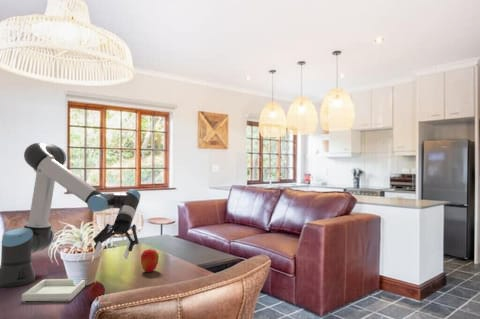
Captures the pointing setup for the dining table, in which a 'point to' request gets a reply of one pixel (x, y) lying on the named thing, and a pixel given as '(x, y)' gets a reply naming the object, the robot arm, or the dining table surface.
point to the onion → (96, 290)
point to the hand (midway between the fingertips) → (110, 256)
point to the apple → (149, 260)
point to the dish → (53, 290)
